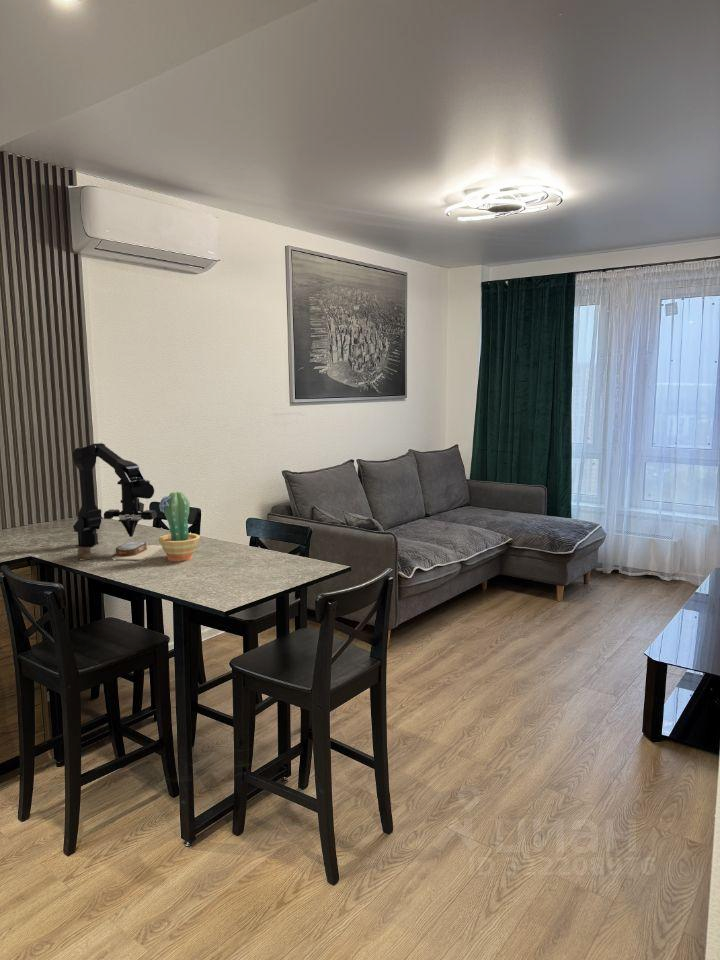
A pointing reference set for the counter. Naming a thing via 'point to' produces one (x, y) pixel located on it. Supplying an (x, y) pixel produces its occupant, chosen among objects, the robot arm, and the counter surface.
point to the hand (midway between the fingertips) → (131, 536)
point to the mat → (141, 554)
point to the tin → (131, 549)
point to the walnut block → (84, 553)
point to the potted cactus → (177, 528)
